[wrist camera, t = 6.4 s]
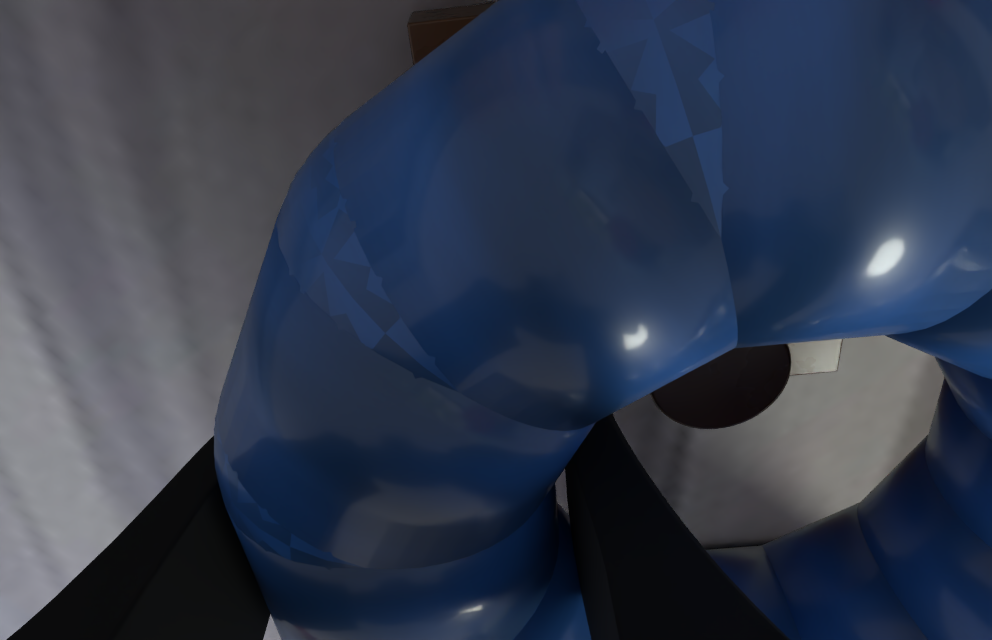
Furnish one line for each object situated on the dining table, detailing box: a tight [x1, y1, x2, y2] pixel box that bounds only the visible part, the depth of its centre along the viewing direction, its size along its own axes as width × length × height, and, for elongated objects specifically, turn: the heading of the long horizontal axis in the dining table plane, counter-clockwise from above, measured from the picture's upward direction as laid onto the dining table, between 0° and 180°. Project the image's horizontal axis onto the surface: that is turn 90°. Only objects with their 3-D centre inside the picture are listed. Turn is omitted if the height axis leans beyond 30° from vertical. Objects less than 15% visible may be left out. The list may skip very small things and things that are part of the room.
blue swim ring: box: [214, 0, 992, 640], centre depth 11 cm, size 14×14×4 cm
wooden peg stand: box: [407, 3, 843, 429], centre depth 16 cm, size 10×10×7 cm
